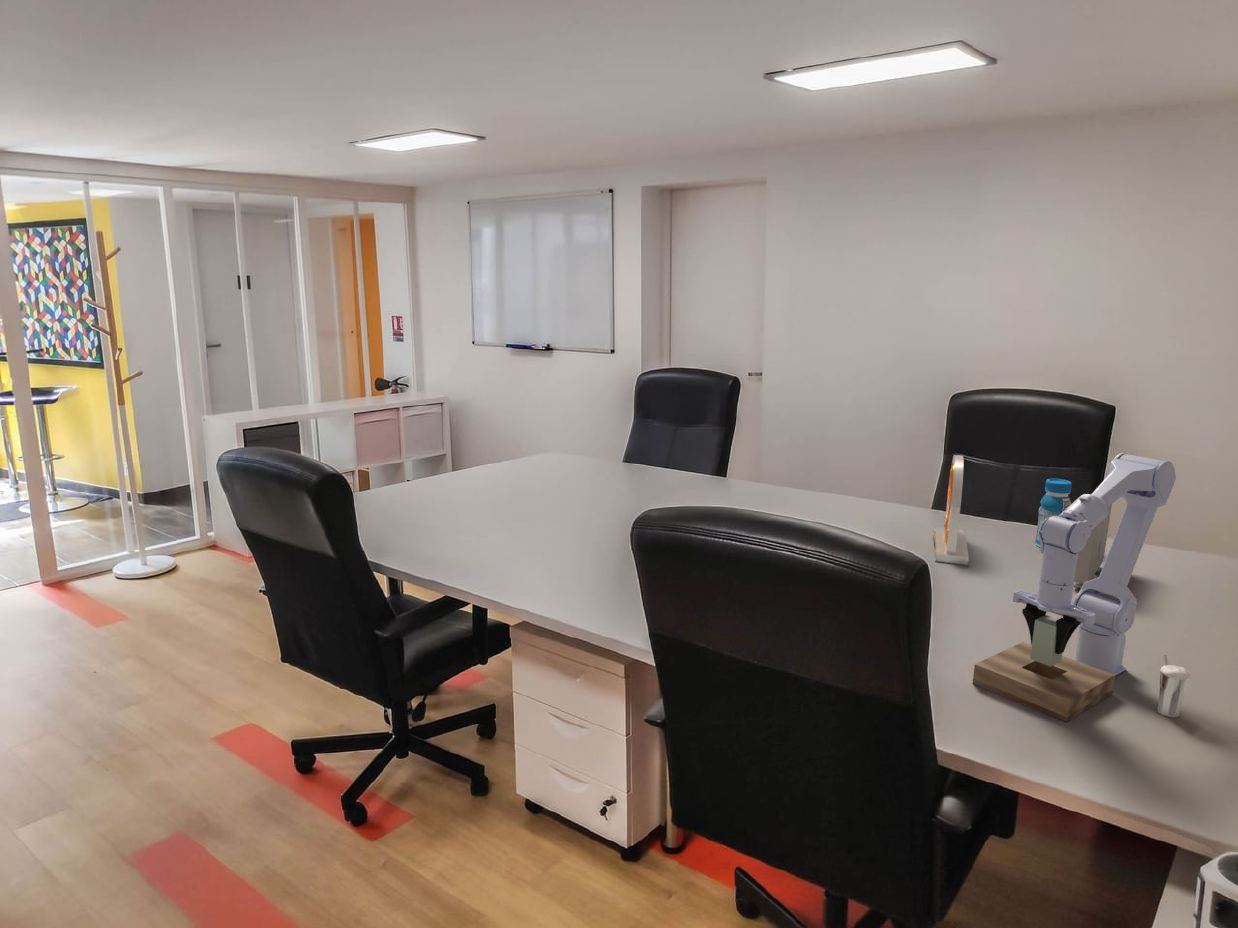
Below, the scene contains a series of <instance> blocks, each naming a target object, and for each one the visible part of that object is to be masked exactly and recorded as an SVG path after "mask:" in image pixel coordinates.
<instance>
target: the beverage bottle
mask: <svg viewBox="0 0 1238 928" xmlns="http://www.w3.org/2000/svg"><path fill="white" fill-rule="evenodd" d="M1044 485H1045V487H1044V489H1045V492H1046V493H1045V494H1044V495H1043V496H1042V497H1041V500H1040V501H1039V502H1040V505H1041V506H1039V508H1038V518H1037V519H1038V521H1037V528H1036V536H1035V541H1034V543H1035V546H1037V547H1038V548H1040V547H1041V543H1040V541H1039V537H1038V532H1039V531H1040V528H1041V525H1042V523H1043V522H1044V520H1045V519H1047V518H1049V517H1052V516H1059V515H1060V514H1061V513H1062V512H1063V511H1064V510H1065V509H1067V508H1068V507H1069V506H1070V505H1071V504H1072V503H1073V502H1072V500H1071V497H1070V496H1069V495H1070V494H1071V492H1072V487H1073V486H1072V485H1073V484H1072V482H1071V481H1070V480H1066V479H1063V478H1062V479H1061V478H1048V479H1046V480H1045V484H1044Z"/></svg>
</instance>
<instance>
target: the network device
mask: <svg viewBox="0 0 1238 928" xmlns="http://www.w3.org/2000/svg"><path fill="white" fill-rule="evenodd" d="M1112 507H1113V503H1112V504H1111V505H1109V506H1108V507H1107V510H1108V514H1107V516H1106V517H1105V518H1104V519H1103V520H1102V521H1101V522H1100V523H1099V524H1098V525H1097V526H1096V527H1095V528H1094V529H1093V530H1092V531H1091V535H1090V537H1089V538H1088V540H1087V543H1086V545H1085V547H1084V548H1083V550H1081V551H1080V552H1078V558H1077V565H1076V572H1075V579H1074V586H1073V588H1079V589H1081V588H1082V586H1083V584H1084V583H1085V582H1087V581H1090V580H1093V579H1096V578H1098V577H1099V576H1098V575H1096V573H1097V572H1100V573H1101V571H1102V568H1100V567H1101V565H1102V564H1103V562H1104V558H1105V553H1106V545H1107V541H1108V533H1109V525H1110V519H1111V514H1112V513H1111V512H1112Z"/></svg>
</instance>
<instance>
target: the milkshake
mask: <svg viewBox="0 0 1238 928" xmlns="http://www.w3.org/2000/svg"><path fill="white" fill-rule="evenodd" d="M1163 658H1164V665H1163V666H1162V667H1161V666H1160V667H1161V668H1160V671H1159V693H1158V705H1157V713H1159V714H1160V715H1161V716H1165V717H1167V718H1171V719H1172V718H1174V719H1175V718H1178V717H1179V715H1180V713H1181V708H1182V706H1183V705H1182V704H1183V700H1184V697H1185V693H1186V690H1187V688H1188V684H1189V682H1190V678H1191V674H1190V672H1189V671H1188V669H1186V668H1185V667H1184V666H1178V665H1175V664H1173V665H1171V664H1169V663H1168V656H1167V654H1165V655H1163Z"/></svg>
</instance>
